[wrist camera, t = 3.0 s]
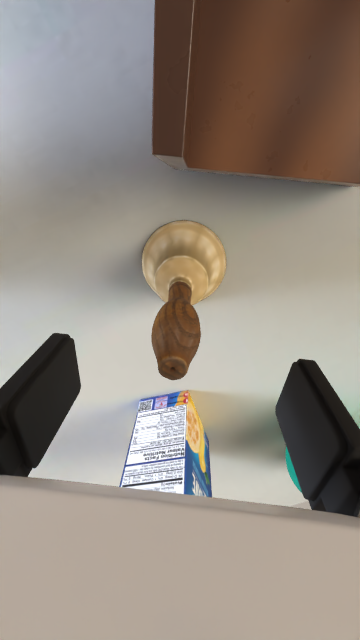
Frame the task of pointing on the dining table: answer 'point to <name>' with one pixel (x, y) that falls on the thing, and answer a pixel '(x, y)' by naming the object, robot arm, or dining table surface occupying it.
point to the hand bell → (181, 288)
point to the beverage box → (168, 448)
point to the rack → (258, 88)
